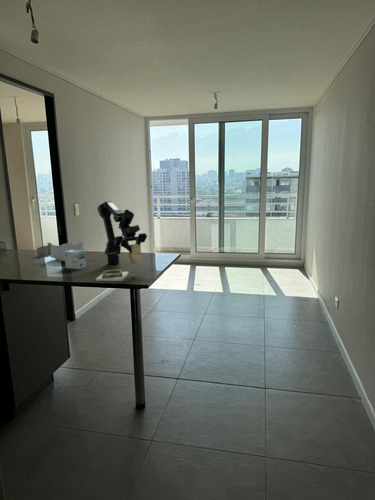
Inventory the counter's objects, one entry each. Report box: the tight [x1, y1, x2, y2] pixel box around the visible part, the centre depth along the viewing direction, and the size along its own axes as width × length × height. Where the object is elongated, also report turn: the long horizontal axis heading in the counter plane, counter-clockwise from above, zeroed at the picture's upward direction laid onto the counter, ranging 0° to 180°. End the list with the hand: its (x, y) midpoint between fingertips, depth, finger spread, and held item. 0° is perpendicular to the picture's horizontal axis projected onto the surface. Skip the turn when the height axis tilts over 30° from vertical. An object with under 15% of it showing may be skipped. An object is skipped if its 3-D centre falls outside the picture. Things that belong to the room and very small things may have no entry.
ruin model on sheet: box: [36, 242, 54, 258], centre depth 243 cm, size 11×3×10 cm, turn 149°
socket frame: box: [102, 269, 123, 278], centre depth 181 cm, size 10×10×2 cm
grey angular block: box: [50, 240, 85, 262], centre depth 227 cm, size 20×19×12 cm
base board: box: [95, 271, 130, 282], centre depth 181 cm, size 14×14×1 cm
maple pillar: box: [128, 243, 142, 265], centre depth 184 cm, size 5×5×10 cm
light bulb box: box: [64, 249, 87, 270], centre depth 204 cm, size 11×7×11 cm, turn 71°
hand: (135, 251), depth 182 cm, fingers closed on maple pillar, 5 cm apart
